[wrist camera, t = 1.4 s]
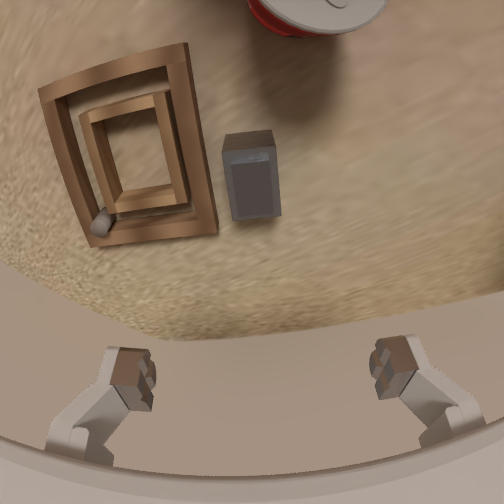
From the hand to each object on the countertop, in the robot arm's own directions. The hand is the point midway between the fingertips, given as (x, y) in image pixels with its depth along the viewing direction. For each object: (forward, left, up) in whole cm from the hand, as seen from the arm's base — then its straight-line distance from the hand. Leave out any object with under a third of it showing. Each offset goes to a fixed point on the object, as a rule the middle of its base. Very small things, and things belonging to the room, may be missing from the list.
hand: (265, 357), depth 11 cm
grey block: (0, +1, -21) cm, 21 cm away
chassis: (+10, -2, -21) cm, 24 cm away
